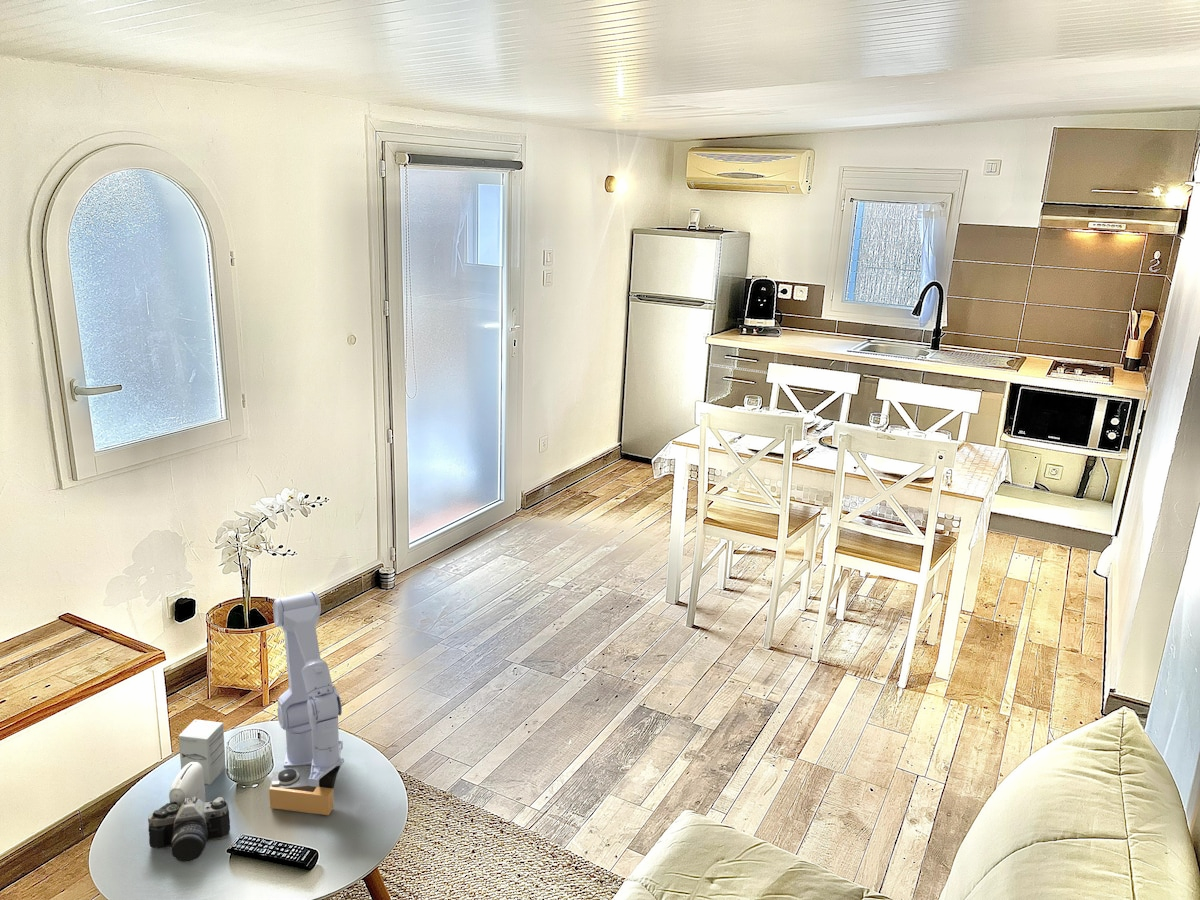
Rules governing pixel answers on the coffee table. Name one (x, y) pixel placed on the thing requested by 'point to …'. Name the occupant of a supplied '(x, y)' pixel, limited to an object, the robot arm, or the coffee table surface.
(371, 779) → the coffee table surface
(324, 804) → the tan l-shaped bracket
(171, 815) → the camera
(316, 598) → the robot arm
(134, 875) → the coffee table surface
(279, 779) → the block
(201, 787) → the photo printer
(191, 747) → the supplement box
